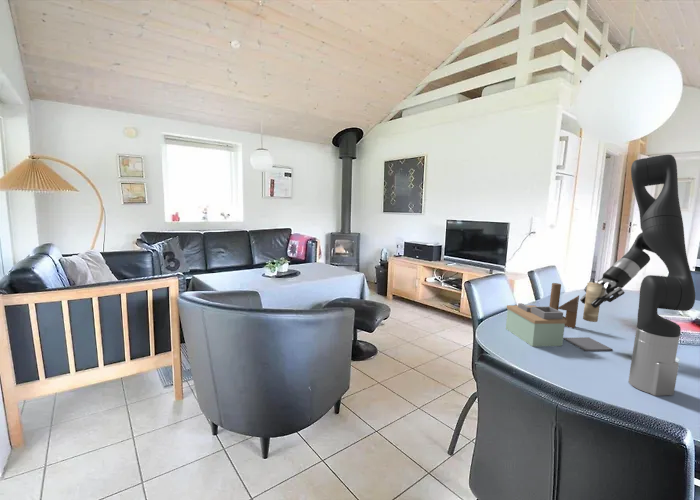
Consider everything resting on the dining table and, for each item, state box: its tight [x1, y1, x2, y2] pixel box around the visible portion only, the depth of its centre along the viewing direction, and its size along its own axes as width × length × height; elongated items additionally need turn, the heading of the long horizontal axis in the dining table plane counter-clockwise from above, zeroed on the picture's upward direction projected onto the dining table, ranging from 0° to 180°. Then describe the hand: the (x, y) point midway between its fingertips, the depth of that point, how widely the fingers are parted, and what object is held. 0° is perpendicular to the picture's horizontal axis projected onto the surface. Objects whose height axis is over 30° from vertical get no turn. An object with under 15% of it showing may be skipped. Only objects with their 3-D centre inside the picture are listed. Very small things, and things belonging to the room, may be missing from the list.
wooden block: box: [548, 282, 580, 329], centre depth 151 cm, size 4×11×18 cm, turn 46°
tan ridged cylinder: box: [582, 282, 602, 323], centre depth 128 cm, size 5×5×14 cm
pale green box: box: [505, 303, 567, 348], centre depth 135 cm, size 19×13×13 cm
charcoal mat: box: [563, 336, 613, 352], centre depth 130 cm, size 11×11×1 cm
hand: (587, 303), depth 128 cm, fingers closed on tan ridged cylinder, 4 cm apart
